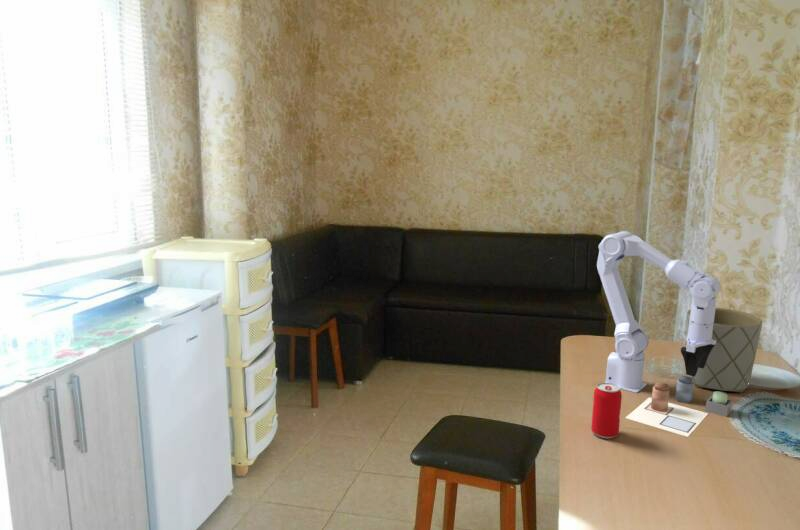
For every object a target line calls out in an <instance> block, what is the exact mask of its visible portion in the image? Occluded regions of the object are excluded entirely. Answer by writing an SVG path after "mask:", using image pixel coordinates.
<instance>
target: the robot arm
mask: <svg viewBox="0 0 800 530" xmlns="http://www.w3.org/2000/svg"><path fill="white" fill-rule="evenodd" d="M597 248H598V256H597V261H596V268H597V273H598V275H599V278H600V281H601V283H602V287H603V290H604V293H605V296H606V299H607V302H608V305H609V310H610V312H611V315H612V318H613V321H614V324H615V329H614V338H615V342H614V343H615V344H614V348H615V351H612V352H610V354H609V355H608V358H607V362H606V372H605V373H606V374H605V381H604V383H612V384H615V385H617V386H619V387H620V390H624V391H629V392H632V393H636V394H637V393H639V392H641V390H642V389H644V388H645V387H646V386H647V385H648V383H647V382H644V381H643V376H644V366H645V357H646V356H645V352H644V351H645V350H646V349H648V347H649V343H650V341H649V337H648V335H647V334H646V333H645V331H644V330H643V329H642V326H641V324H640V323H639V322H638V321H637V320H636V318H635V316H634V313H633V310H632V306H631V304H630V300H629V298H628V295H627V292H626V288H625V286H624V282H623V280H622V276H621V273H620V270H619V266H620V264H621V263H622V261H623V259H624V258H625V257H633V256H634V257H636V256H637V257H639V258H641V259H643V260H645V261H646V262H648V263H651V264H652V265H654V266H656V267H657V268H659V269H661V270H663V271H664V273H665V276H666V278H667V279H669V280H671V281H672V282H674V283H675V284H676V285H678V286H680V287H682V288H684V289H685V290H686V291H689V292H690V295H691V297H692V300H691V306H690V309H691V312H690V320H689V328H688V336H687V338H686V337H685V341H686V340H687V347H685V346H682V347H681V348H680V353H681V355H682V357H683V361H684V368H685V369H686V374H687V375H690V376H694V377H695V375H696V373H697V370H698V367H699V368H704V367H705V364H706V362H707V359H708V356H709V354H710V352H711V350H712V349H713V347H714V346H715V344H716V340H712V332H713V325H714V317H715V309H716V308H717V306H716V305H717V295H718V294H719V293H720V291H721V281H719V280H718V278H717V277H715V276H714V275H713V274H706V272H705V271H703V270H698V269H697V268H695V267H694V266H692V265H690V262H689V261H688V260H687V259H684V260H682V259H679V258H678V259H674V260H673V259H671V258H669V256H667V255H665V254H664V253H662V252H661V251H659V250H658V249H656V248H655V247H654V246H653V245H652V246H651V244H649V243H647V242H646V241H644V240H643V239H641V238H640V237H639V236H638V235H635V234H632V232H630V231H627V230H620V231H619V232H617V233H611V234H607V235H605V236H604V238H603V239H601V242H600V243H599V244H598V247H597Z"/></svg>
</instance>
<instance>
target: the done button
mask: <svg viewBox="0 0 800 530" xmlns="http://www.w3.org/2000/svg"><path fill="white" fill-rule="evenodd" d="M712 392H713V393H712V395H713V398H712V402H715V403H719V404H722V405H727V399H729V398H728V396H729V395H728V393H727V392H724V391H719V390H716V391H712Z"/></svg>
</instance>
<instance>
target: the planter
mask: <svg viewBox="0 0 800 530" xmlns="http://www.w3.org/2000/svg"><path fill="white" fill-rule="evenodd" d="M690 312H691V308H690V309H688V310H687V312H686V321H685V345H684V347H687V340H686V338H687V336H688V328H689V320H690ZM762 324H763V320H762V319H761V318H759V317H758V316H756V315H753V314H751V313H748V312H745V311H740V310H736V309H732V308H731V309H729V308H722V307H716V309H715V317H714V325H713V332H712V340H716V344H715V346H714V347H713V349H712V350H711V352H710V354H709V356H708V359H707V362H706V364H705V367H704V368H699V367H698V370H697V373H696V375H695V377H694V376H690V375H687V374H686V369H685V367H684V373H683V375H684V376H688V377H691V378H692V381H693V382H694V384H693V387H696V388H701V389H703V388H704V389H709V390H710V389H711V390H716V391H721V392H735V393H744V391H746V389H747V388H748V387H749V386H748V383H751V379H752V374H753V369H754V364H755V360H756V355H757V349H758V348H759V347H758V345H759V342H760V337H761V332H762V326H763V325H762Z"/></svg>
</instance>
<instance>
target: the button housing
mask: <svg viewBox="0 0 800 530" xmlns="http://www.w3.org/2000/svg"><path fill="white" fill-rule="evenodd" d="M712 398H713V394H711V395H710V396H709V397H708V398H707V400H706V402H705V409H704V411H705V413H711V414H714V415H718V416H722V417H725V418H726V417H728V415H729V414H730V413H731V412H732V408H733V402H734V400H732V399H729V398H727V405H722V404H719V403H715V402H712Z"/></svg>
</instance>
